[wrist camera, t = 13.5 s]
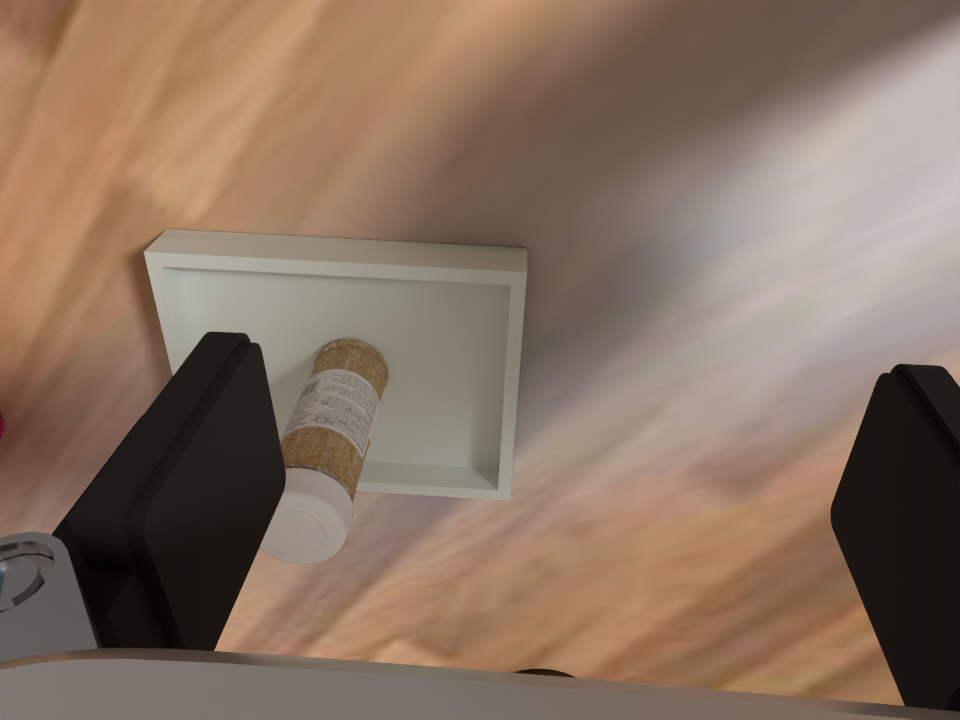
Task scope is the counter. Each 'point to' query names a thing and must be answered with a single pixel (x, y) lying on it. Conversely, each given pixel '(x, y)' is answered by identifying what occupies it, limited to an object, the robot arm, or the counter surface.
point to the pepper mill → (1, 427)
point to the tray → (369, 339)
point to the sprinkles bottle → (326, 452)
